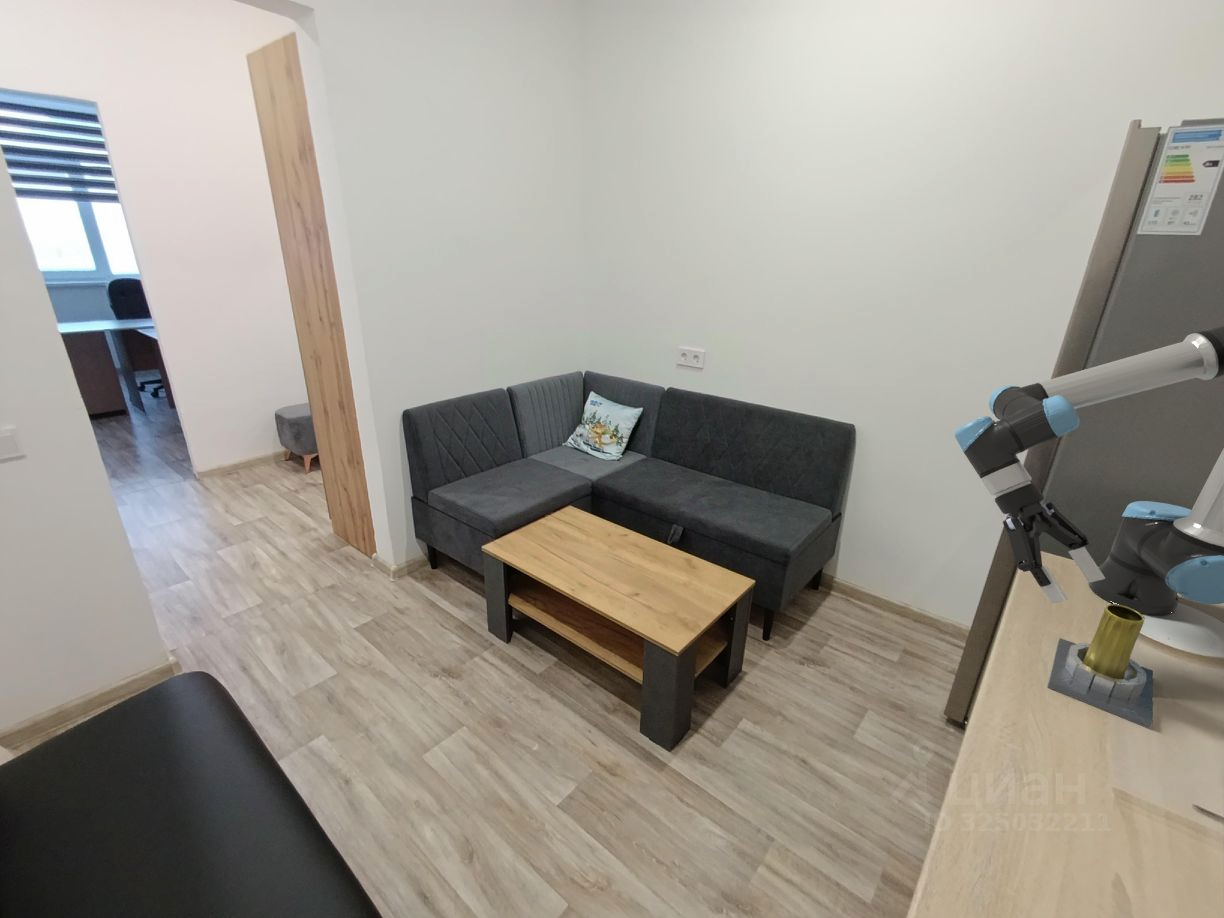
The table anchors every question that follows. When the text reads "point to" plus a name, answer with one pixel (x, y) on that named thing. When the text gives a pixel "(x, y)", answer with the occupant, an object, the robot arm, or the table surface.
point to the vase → (1114, 641)
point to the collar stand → (1103, 684)
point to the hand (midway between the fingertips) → (1079, 591)
